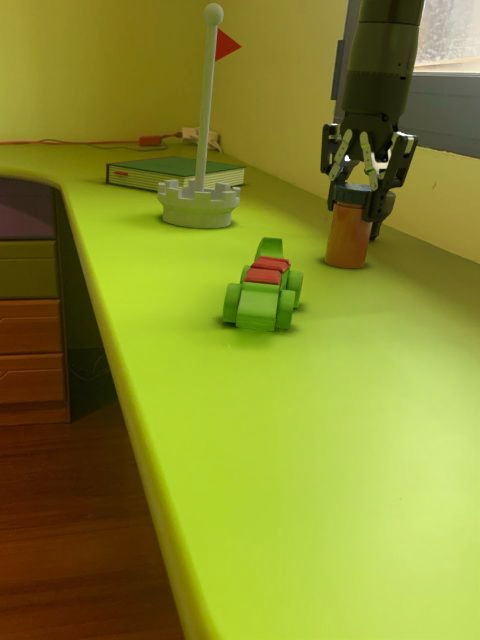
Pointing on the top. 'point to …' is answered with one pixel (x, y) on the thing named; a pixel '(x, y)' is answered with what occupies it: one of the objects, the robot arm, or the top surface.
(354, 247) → the jar
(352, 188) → the lid
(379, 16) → the robot arm
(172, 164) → the hardcover book
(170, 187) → the flag stand
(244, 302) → the toy crocodile
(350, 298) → the top surface
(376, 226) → the light bulb
